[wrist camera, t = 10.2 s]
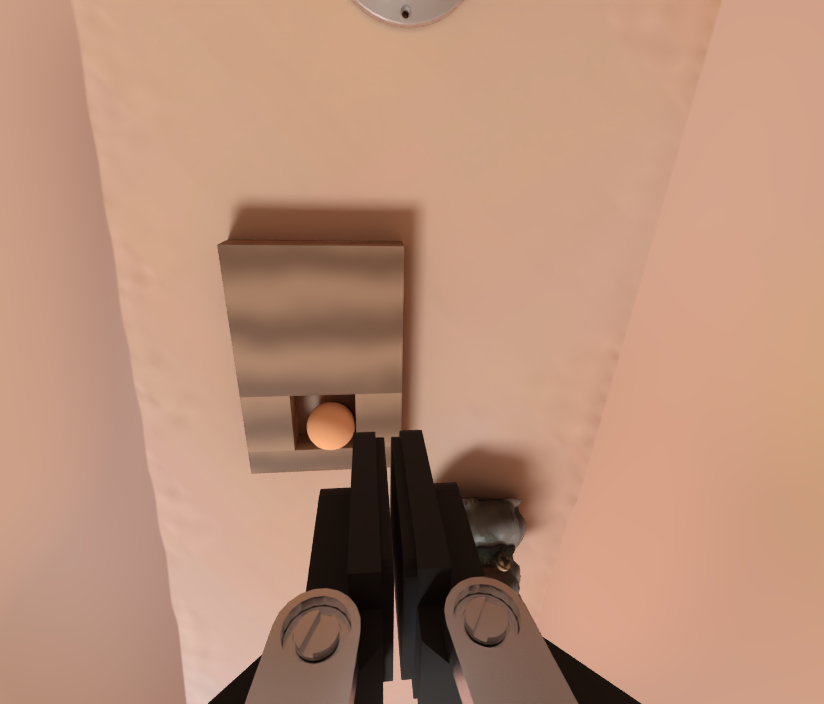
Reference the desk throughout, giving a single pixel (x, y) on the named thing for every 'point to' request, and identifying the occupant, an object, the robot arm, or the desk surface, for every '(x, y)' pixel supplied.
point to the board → (314, 341)
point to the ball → (330, 426)
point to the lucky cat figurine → (497, 536)
